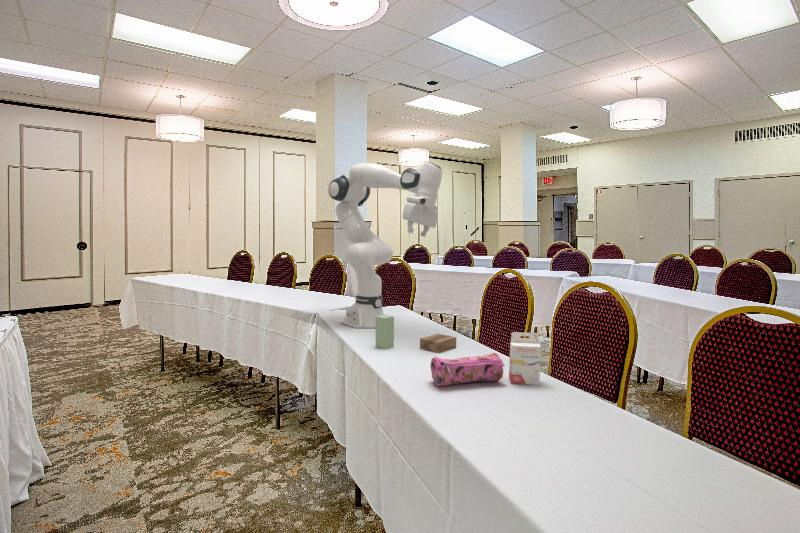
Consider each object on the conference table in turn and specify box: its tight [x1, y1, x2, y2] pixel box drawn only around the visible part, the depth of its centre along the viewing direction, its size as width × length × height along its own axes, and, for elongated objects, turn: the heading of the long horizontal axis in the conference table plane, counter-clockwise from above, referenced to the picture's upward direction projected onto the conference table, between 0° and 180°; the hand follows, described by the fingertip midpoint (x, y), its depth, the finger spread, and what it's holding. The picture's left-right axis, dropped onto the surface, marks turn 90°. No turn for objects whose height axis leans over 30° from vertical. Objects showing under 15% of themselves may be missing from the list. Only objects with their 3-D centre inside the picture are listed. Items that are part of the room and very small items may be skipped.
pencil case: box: [430, 352, 505, 387], centre depth 142 cm, size 21×9×9 cm, turn 104°
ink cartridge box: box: [508, 331, 542, 385], centre depth 143 cm, size 9×5×15 cm, turn 84°
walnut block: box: [419, 333, 457, 354], centre depth 181 cm, size 9×11×4 cm
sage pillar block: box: [375, 314, 395, 350], centre depth 183 cm, size 5×5×12 cm
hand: (416, 234), depth 195 cm, fingers open, 8 cm apart
